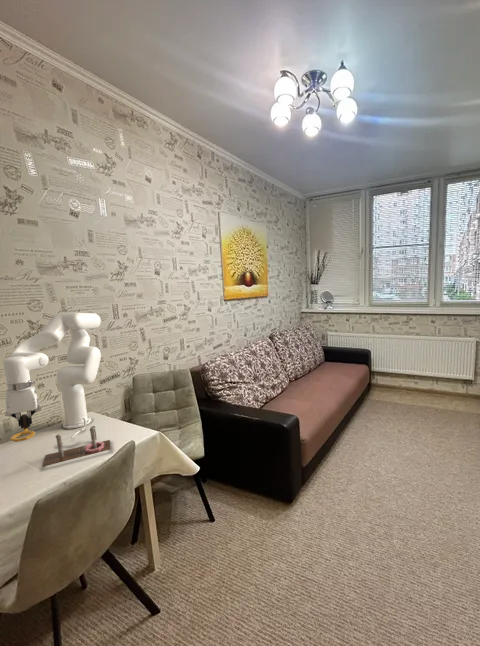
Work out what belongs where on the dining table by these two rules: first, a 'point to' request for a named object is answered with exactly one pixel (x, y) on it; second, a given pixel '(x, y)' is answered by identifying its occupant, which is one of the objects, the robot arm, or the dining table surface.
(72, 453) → the peg rack
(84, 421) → the hook
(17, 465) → the dining table surface
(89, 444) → the pink ring
